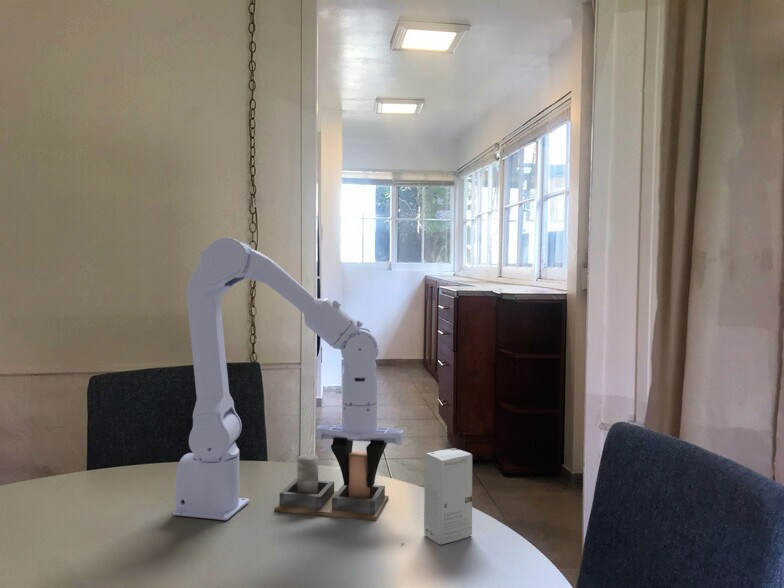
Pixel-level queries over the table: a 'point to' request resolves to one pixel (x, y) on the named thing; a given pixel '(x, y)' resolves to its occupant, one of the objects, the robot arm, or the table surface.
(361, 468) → the terracotta tube
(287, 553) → the table surface
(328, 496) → the tube rack
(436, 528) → the skincare box
